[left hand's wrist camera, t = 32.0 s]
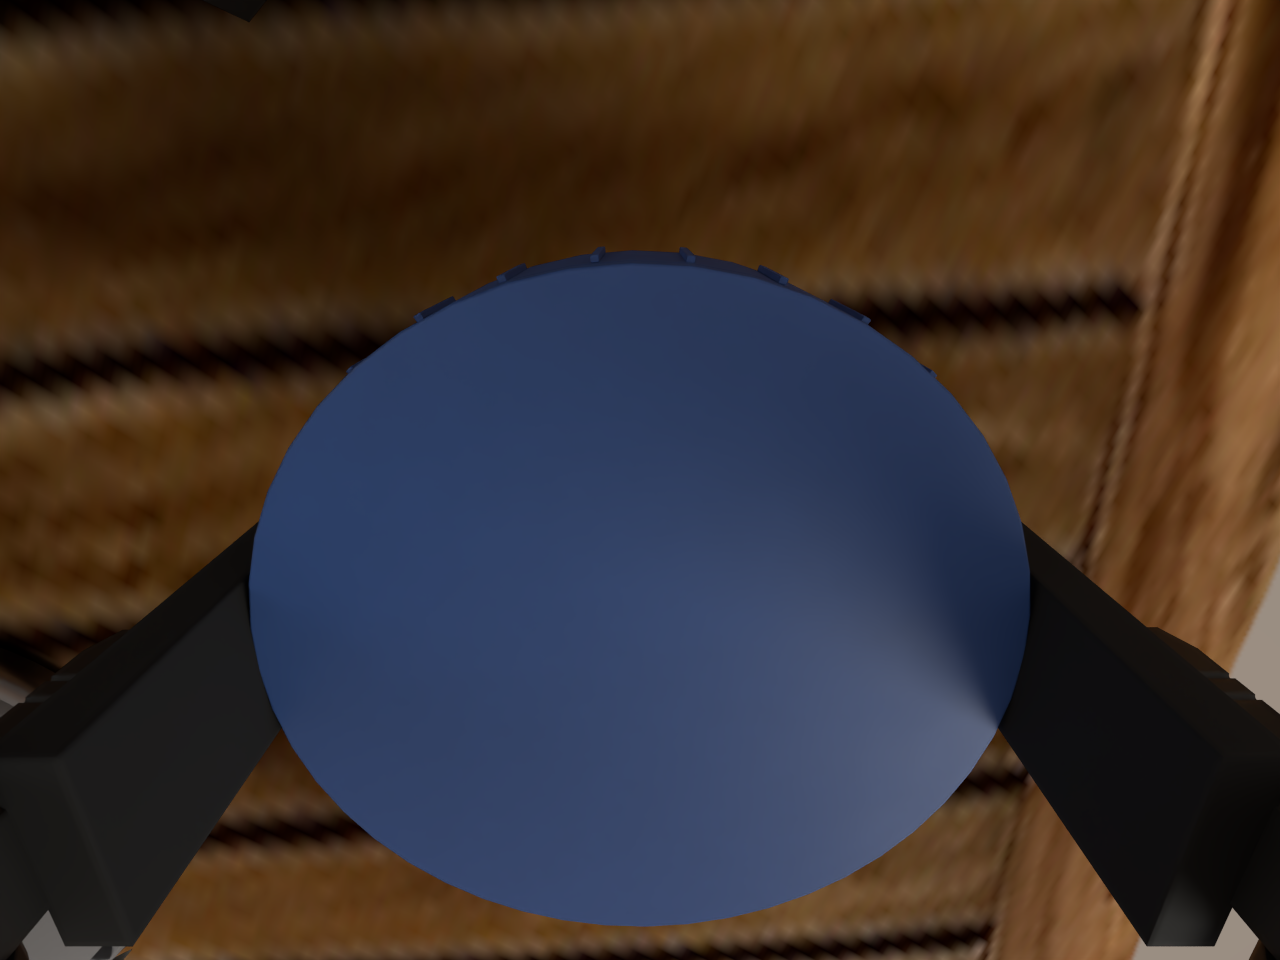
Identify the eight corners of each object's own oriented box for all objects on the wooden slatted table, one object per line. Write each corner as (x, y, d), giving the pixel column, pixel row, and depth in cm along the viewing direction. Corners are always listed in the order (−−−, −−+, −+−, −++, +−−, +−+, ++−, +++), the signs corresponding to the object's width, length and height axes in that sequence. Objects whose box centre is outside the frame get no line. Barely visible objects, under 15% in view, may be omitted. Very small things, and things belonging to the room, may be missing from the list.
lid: (1028, 715, 13) (1101, 813, 11) (503, 883, 15) (481, 995, 13) (855, 106, 10) (917, 79, 7) (175, 426, 11) (66, 479, 9)
